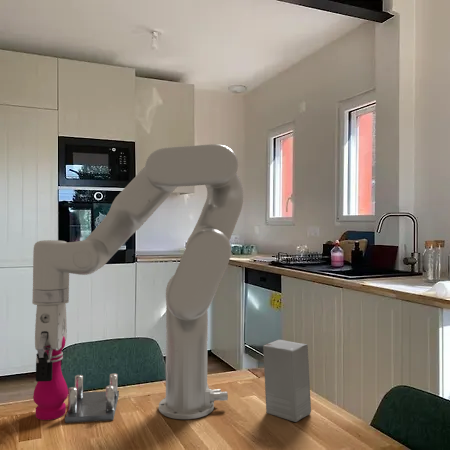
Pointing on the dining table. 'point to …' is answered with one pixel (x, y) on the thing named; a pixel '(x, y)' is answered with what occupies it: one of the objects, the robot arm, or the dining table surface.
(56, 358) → the pepper mill
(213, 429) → the dining table surface
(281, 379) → the skincare box
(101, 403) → the stand
